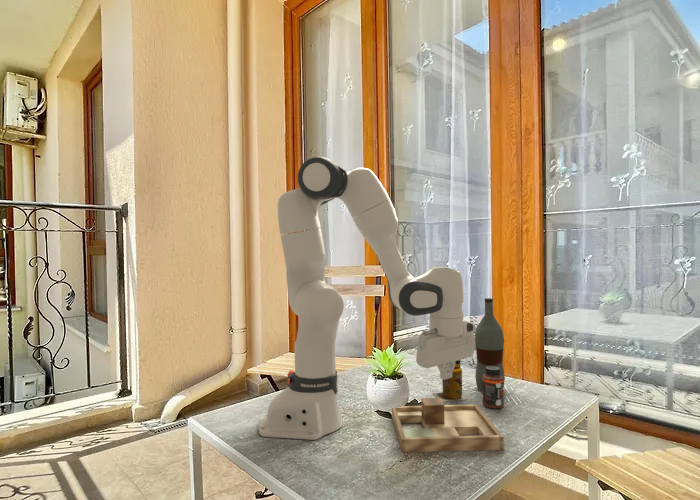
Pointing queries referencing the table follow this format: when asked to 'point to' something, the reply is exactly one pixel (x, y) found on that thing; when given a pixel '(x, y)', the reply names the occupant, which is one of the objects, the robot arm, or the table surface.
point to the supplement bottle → (493, 388)
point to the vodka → (488, 344)
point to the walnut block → (432, 411)
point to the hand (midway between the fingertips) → (446, 378)
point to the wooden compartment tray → (447, 430)
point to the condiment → (452, 386)
